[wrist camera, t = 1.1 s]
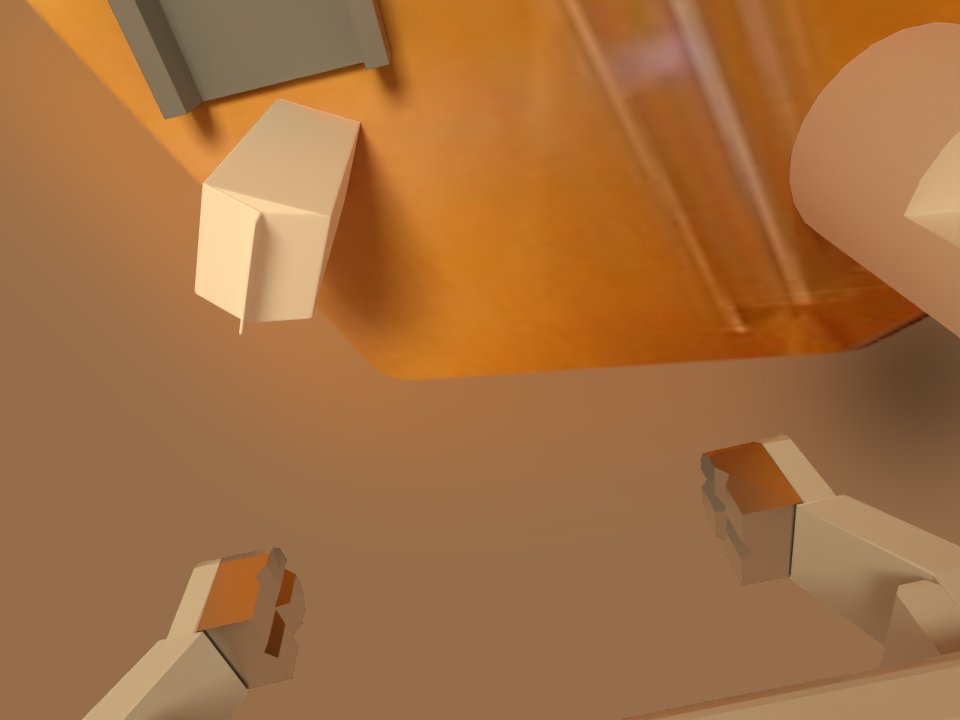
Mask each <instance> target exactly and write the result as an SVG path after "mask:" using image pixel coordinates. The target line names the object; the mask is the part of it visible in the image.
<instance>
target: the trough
mask: <svg viewBox="0 0 960 720" xmlns="http://www.w3.org/2000/svg"><path fill="white" fill-rule="evenodd" d="M108 2H109V4H110V7H111V9H112V11H113V13H114V15H115V17H116V19H117V21H118V23H119V25H120V27H121V29H122V31H123V34H124V36H125V38H126V40H127V42H128V44H129V46H130V48H131V50H132V52H133V54H134V56H135V58H136V61H137V63H138V65H139V67H140V69H141V71H142V73H143V75H144V77H145V79H146V81H147V83H148V86H149V88H150V90H151V92H152V94H153V96H154V98H155V100H156V102H157V104H158V106H159V108H160V110H161V113H162V115H163V117H164V119H169V118H173V117H177V116H181V115H185V114H188V113H189V112H190V111H192V110H193V109H194V108H196V107H197V106H198V105H200V104H201V103H202V102H204V101H208V100H212V99H216V98H220V97H224V96H228V95H232V94H236V93H241V92H245V91H249V90H253V89H257V88H261V87H265V86H269V85H273V84H277V83H281V82H285V81H289V80H293V79H297V78H301V77H306V76H310V75H314V74H318V73H322V72H326V71H330V70H334V69H338V68H342V67H346V66H350V65H354V64H358V63H362V62H364V64H365V67H366V70H368V69H372V68H377V67H381V66H385V65H389V63H390V58H391V54H392V53H391V49H390V46H389V42H388V38H387V34H386V31H385V27H384V23H383V19H382V15H381V12H380V8H379V4H378V0H108Z"/></svg>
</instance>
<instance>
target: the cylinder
mask: <svg viewBox="0 0 960 720" xmlns="http://www.w3.org/2000/svg"><path fill="white" fill-rule="evenodd" d="M789 182H790V187H791V192H792V198H793V203H794V205H795V207H796V208H797V210H798V212H799V214H800V215H801V217H802V219H803V221H804V222H805V223H806V224H807V225H809V226H810V227H811V228H812V229H813V230H815V231H816V232H817V233H818V234H820V235H821V236H822V237H824V238H825V239H826V240H828V241H829V242H830V243H832V244H833V245H834V246H836V247H837V248H838V249H840V250H841V251H843V252H844V253H845V254H847V255H848V256H849V257H851V258H852V259H853V260H855V261H856V262H857V263H859V264H860V265H862V266H863V267H864V268H866V269H867V270H868V271H870V272H871V273H872V274H874V275H875V276H877V277H878V278H879V279H881V280H882V281H883V282H885V283H886V284H887V285H889V286H890V287H891V288H893V289H894V290H896V291H897V292H898V293H900V294H901V295H902V296H904V297H905V298H906V299H908V300H909V301H910V302H912V303H913V304H915V305H916V306H917V307H919V308H920V309H921V310H923V311H924V312H925V313H927V314H928V315H929V316H931V317H932V318H934V319H935V320H936V321H938V322H939V323H940V324H942V325H943V326H944V327H946V328H947V329H948V330H950V331H951V332H953V333H954V334H955V335H957V336H958V337H959V338H960V24H956V23H944V22H932V23H928V24H923V25H918V26H914V27H909V28H905V29H902V30H900V31H898V32H896V33H894V34H892V35H890V36H888V37H886V38H884V39H882V40H880V41H878V42H876V43H874V44H872V45H871V46H869V47H868V48H867V49H865V50H864V51H863V52H862V53H860V54H859V55H858V56H856V57H855V58H854V59H852V60H851V61H850V62H849V63H847V64H846V65H845V66H843V68H842V69H841V70H840V71H839V72H838V73H837V74H836V75H835V77H834V78H833V79H832V80H831V81H830V82H829V83H828V84H827V86H826V87H825V88H824V89H823V90H822V91H821V92H820V94H819V95H818V97H817V99H816V100H815V102H814V104H813V105H812V107H811V109H810V110H809V112H808V114H807V115H806V117H805V119H804V120H803V122H802V124H801V127H800V130H799V133H798V136H797V139H796V141H795V144H794V147H793V150H792V155H791V165H790V175H789Z"/></svg>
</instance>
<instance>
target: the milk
mask: <svg viewBox="0 0 960 720" xmlns="http://www.w3.org/2000/svg"><path fill="white" fill-rule="evenodd" d="M359 129H360V122H359V121H355V120H352V119H348V118H345V117H342V116H338V115H335V114H332V113H328V112H325V111H321V110H318V109H315V108H311V107H308V106H305V105H301V104H298V103H294V102H291V101H288V100H284V99H281V98H278V99H277V100H276V101H275V102H274V103H273V104H272V105H271V106H270V108H269V109H268V110H267V111H266V112H265V113H264V114H263V116H262V117H261V118H260V119H259V120H258V121H257V122H256V124H255V125H254V126H253V127H252V128H251V129H250V130H249V132H248V133H247V134H246V135H245V136H244V137H243V138H242V140H241V141H240V142H239V143H238V144H237V145H236V146H235V148H234V149H233V150H232V151H231V152H230V153H229V154H228V155H227V157H226V158H225V159H224V160H223V161H222V162H221V163H220V165H219V166H218V167H217V168H216V169H215V170H214V171H213V173H212V174H211V175H210V176H209V177H208V178H207V179H206V181H205V182H204V183H203V187H202V201H201V214H200V227H199V241H198V254H197V268H196V282H195V293H196V294H198V295H199V296H201V297H203V298H205V299H206V300H208V301H210V302H211V303H213V304H215V305H217V306H218V307H220V308H222V309H224V310H226V311H227V312H229V313H231V314H232V315H234V316H236V317H238V318H239V319H241V323H240V332H239V334H240V335H243V333H244V330H245V328H246V326H247V324H248V323H251V322H265V321H280V320H295V319H308V318H311V317H312V316H313V312H314V309H315V305H316V302H317V298H318V294H319V291H320V287H321V284H322V280H323V277H324V273H325V269H326V266H327V262H328V259H329V255H330V251H331V248H332V244H333V241H334V237H335V234H336V230H337V226H338V223H339V219H340V216H341V212H342V208H343V205H344V201H345V198H346V193H347V188H348V183H349V178H350V173H351V168H352V163H353V158H354V153H355V148H356V143H357V138H358V133H359Z"/></svg>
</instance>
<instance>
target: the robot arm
mask: <svg viewBox="0 0 960 720" xmlns="http://www.w3.org/2000/svg"><path fill="white" fill-rule="evenodd" d="M701 470H702V472H703V474H704V475H705V477H706V479H707V480H706V482H705V483H704V484H703V486H702V497H703V503H704V507H705V511H706V515H707V517H708V520H709V522H710V525H711V527H712V529H713V531H714V533H715V535H716V536H717V537H719V538H720V539H722V540H724V541H726V556H727V558H728V560H729V562H730V564H731V566H732V568H733V569H734V571H735V573H736V575H737V577H738V579H739V580H740V582H741V584H742V585H747V584H753V583H758V582H764V581H770V580H775V579H781V578H787V577H791V580H792V581H794V582H795V583H797V584H798V585H799V586H801V587H802V588H804V589H805V590H807V591H808V592H809V593H811V594H812V595H814V596H815V597H816V598H818V599H819V600H820V601H822V602H823V603H825V604H826V605H828V606H829V607H830V608H832V609H833V610H835V611H836V612H837V613H839V614H840V615H842V616H843V617H844V618H846V619H847V620H849V621H850V622H852V623H853V624H854V625H856V626H857V627H859V628H860V629H861V630H863V631H864V632H866V633H867V634H869V635H870V636H871V637H873V638H874V639H876V640H877V641H878V642H880V643H881V644H883V645H884V650H883V654H882V658H881V663H880V667H878V668H873V669H868V670H863V671H858V672H853V673H848V674H843V675H838V676H833V677H828V678H823V679H818V680H813V681H807V682H802V683H798V684H792V685H787V686H782V687H777V688H772V689H767V690H762V691H757V692H752V693H747V694H742V695H737V696H732V697H727V698H722V699H717V700H712V701H707V702H702V703H697V704H692V705H687V706H682V707H676V708H672V709H667V710H661V711H656V712H652V713H647V714H642V715H636V716H632V717H627V718H621V719H616V720H960V547H959V546H957V545H955V544H952V543H950V542H948V541H946V540H944V539H941V538H939V537H937V536H935V535H933V534H930V533H928V532H926V531H924V530H922V529H919V528H917V527H915V526H913V525H911V524H908V523H906V522H904V521H902V520H900V519H897V518H895V517H893V516H891V515H889V514H886V513H884V512H882V511H880V510H878V509H875V508H873V507H871V506H868V505H867V504H864V503H862V502H860V501H858V500H855V499H853V498H851V497H849V496H846V495H841V496H836V495H835V494H834V493H833V492H832V490H831V489H830V488H829V486H828V485H827V484H826V483H825V482H824V480H823V479H822V478H821V476H820V475H819V474H818V473H817V471H816V470H815V469H814V468H813V466H812V465H811V464H810V463H809V461H808V460H807V459H806V458H805V457H804V455H803V454H802V453H801V451H800V450H799V449H798V448H797V446H796V445H795V444H794V443H793V441H792V440H791V439H790V438H789V437H787V436H785V435H780V436H776V437H772V438H768V439H763V440H759V441H756V442H750V443H746V444H741V445H737V446H733V447H728V448H724V449H720V450H715V451H711V452H706V453H703V454H702V457H701ZM286 561H287V558H286V557H285V556H284V554H283V552H282V551H281V549H280V548H269V549H264V550H258V551H253V552H249V553H243V554H238V555H232V556H228V557H225V558H220V559H215V560H209V561H204V562H200V563H199V564H198V565H197V566H196V567H195V568H194V570H193V573H192V575H191V578H190V580H189V583H188V586H187V588H186V591H185V593H184V596H183V598H182V601H181V604H180V606H179V609H178V612H177V614H176V616H175V619H174V622H173V624H172V627H171V629H170V632H169V634H168V637H167V639H164V640H160V641H158V642H157V643H156V644H155V645H154V647H153V648H151V649H150V651H149V652H148V653H147V654H146V655H145V656H144V657H143V658H142V659H141V660H140V661H139V662H138V663H137V664H136V665H135V666H134V667H133V668H132V669H131V670H130V671H129V672H128V673H127V674H126V675H125V676H124V677H123V678H122V679H121V680H120V681H119V682H118V683H117V684H116V686H115V687H114V688H113V689H112V690H110V692H109V693H108V694H107V695H106V696H105V697H104V698H103V699H102V700H101V701H100V702H99V703H98V704H97V705H96V706H95V707H94V708H93V709H92V710H91V711H90V712H89V713H88V714H87V715H86V716H85V717H84V718H83V719H82V720H230V719H231V718H232V716H233V715H234V713H235V712H236V710H237V709H238V707H239V706H240V704H241V703H242V701H243V700H244V698H245V697H246V695H247V694H248V692H249V691H248V689H251V688H255V687H259V686H263V685H268V684H271V683H276V682H280V681H284V680H288V679H292V677H293V672H294V667H295V661H296V656H297V651H298V643H297V642H296V640H295V639H294V637H293V635H294V634H295V632H296V631H297V630H298V629H299V627H300V626H301V625H302V624H303V618H304V612H305V604H304V592H303V589H302V586H301V583H300V581H299V579H298V577H297V576H296V574H294V573H292V572H290V571H288V570H286V569H285V566H286Z"/></svg>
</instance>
